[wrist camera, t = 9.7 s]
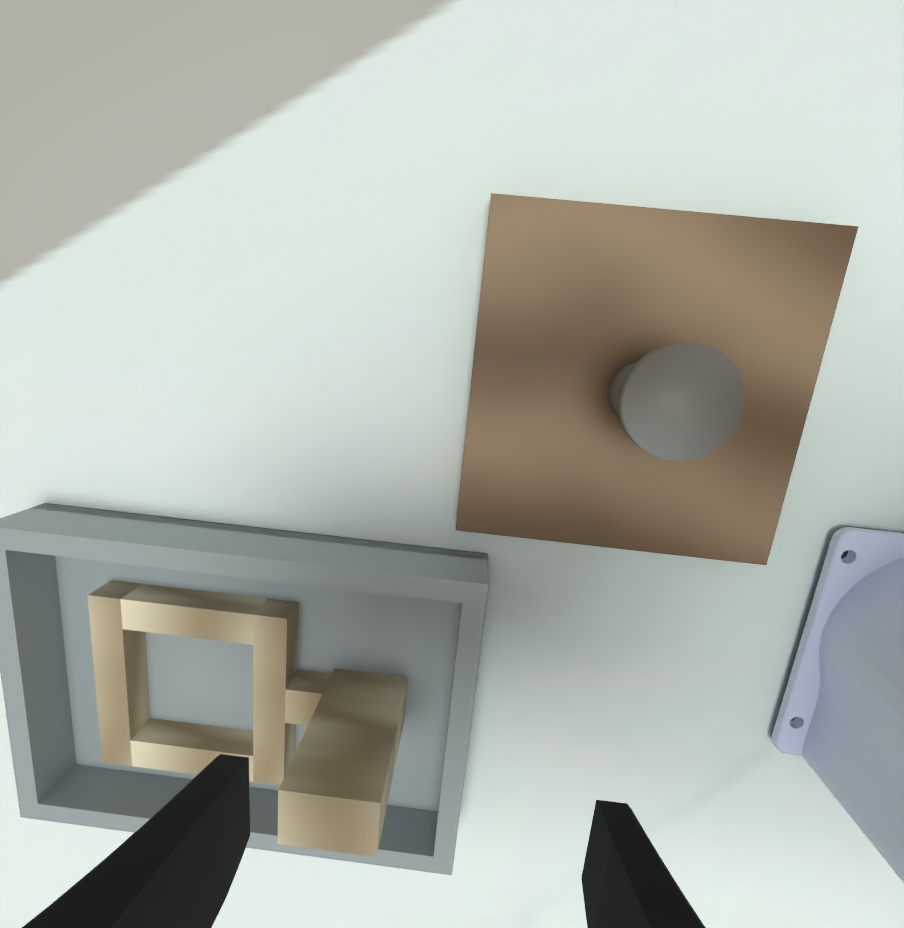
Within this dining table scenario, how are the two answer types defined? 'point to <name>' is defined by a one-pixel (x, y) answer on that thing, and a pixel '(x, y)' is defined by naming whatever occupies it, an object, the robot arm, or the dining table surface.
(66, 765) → the grey rectangular frame
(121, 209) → the dining table surface
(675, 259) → the block
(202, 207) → the dining table surface
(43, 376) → the dining table surface
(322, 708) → the wooden knob frame
